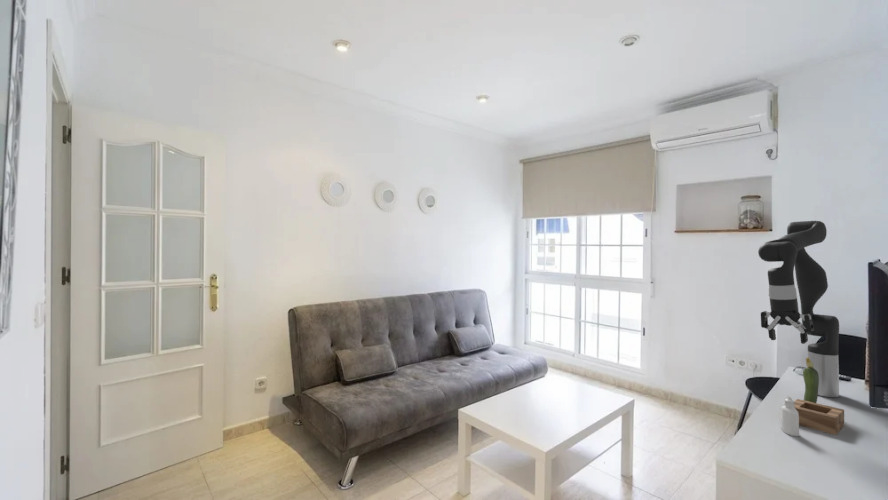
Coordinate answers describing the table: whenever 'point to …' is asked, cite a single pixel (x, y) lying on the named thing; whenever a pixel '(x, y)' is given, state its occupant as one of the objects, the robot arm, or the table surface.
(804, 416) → the socket
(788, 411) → the eye dropper bottle
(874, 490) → the table surface
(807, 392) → the vegetable
